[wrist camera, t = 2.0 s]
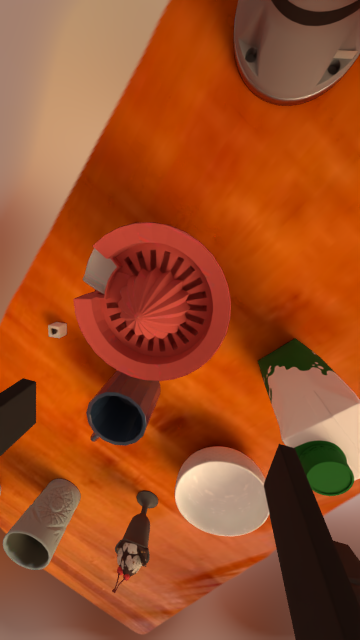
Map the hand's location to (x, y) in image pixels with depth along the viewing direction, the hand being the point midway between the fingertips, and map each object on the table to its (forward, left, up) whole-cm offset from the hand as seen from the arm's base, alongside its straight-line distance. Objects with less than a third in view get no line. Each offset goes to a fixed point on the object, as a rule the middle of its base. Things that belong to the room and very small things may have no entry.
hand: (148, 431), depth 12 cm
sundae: (+46, -1, -29) cm, 54 cm away
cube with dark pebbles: (+10, -24, -29) cm, 38 cm away
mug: (+19, -9, -28) cm, 35 cm away
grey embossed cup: (+52, -21, -29) cm, 63 cm away
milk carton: (+6, +17, -29) cm, 34 cm away
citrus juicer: (-3, -5, -29) cm, 29 cm away
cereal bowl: (+31, +12, -29) cm, 44 cm away
